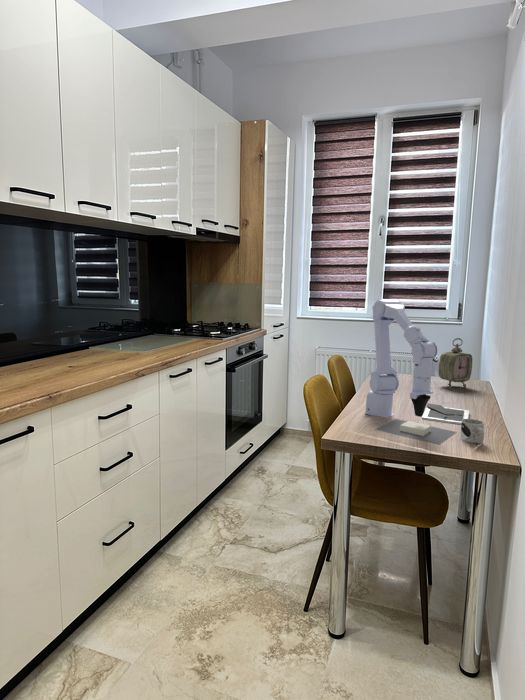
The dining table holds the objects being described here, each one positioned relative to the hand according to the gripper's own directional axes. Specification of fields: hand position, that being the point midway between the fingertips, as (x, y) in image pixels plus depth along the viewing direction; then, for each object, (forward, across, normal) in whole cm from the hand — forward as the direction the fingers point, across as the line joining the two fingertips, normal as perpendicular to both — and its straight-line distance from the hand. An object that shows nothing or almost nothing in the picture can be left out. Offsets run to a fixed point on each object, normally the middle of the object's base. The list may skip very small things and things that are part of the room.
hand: (418, 415), depth 164 cm
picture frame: (+6, +27, -1) cm, 28 cm away
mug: (+6, +1, -18) cm, 19 cm away
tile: (+4, +1, 0) cm, 4 cm away
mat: (+6, -2, 0) cm, 6 cm away
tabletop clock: (+6, +88, +15) cm, 89 cm away
